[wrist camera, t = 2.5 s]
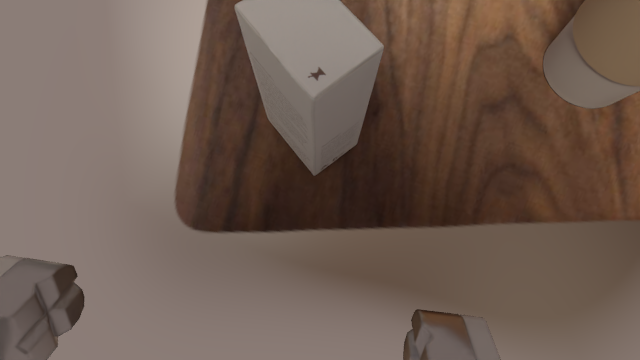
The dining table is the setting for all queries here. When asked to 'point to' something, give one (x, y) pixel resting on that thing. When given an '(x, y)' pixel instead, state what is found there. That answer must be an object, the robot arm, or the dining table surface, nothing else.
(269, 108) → the cosmetic box
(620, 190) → the dining table surface
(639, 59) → the coffee cup
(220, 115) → the dining table surface
